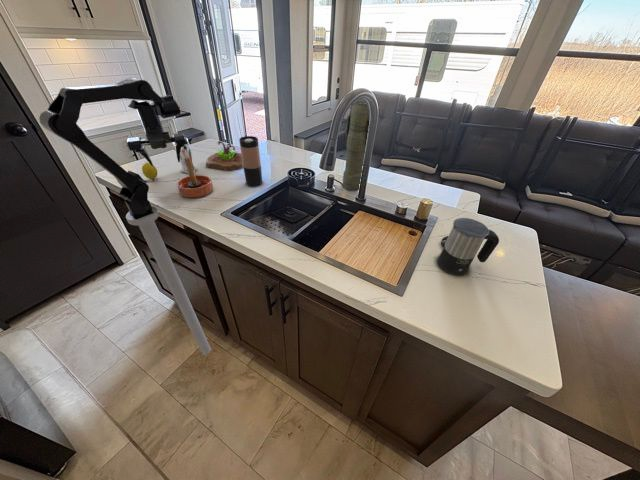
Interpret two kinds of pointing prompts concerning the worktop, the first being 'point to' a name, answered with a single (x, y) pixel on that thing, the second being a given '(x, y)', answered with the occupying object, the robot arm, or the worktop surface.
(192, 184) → the dish brush
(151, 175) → the lemon
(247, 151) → the travel mug
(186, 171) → the beer glass
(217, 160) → the plant
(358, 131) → the green banded column
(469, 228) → the milk frother
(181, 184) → the bowl
